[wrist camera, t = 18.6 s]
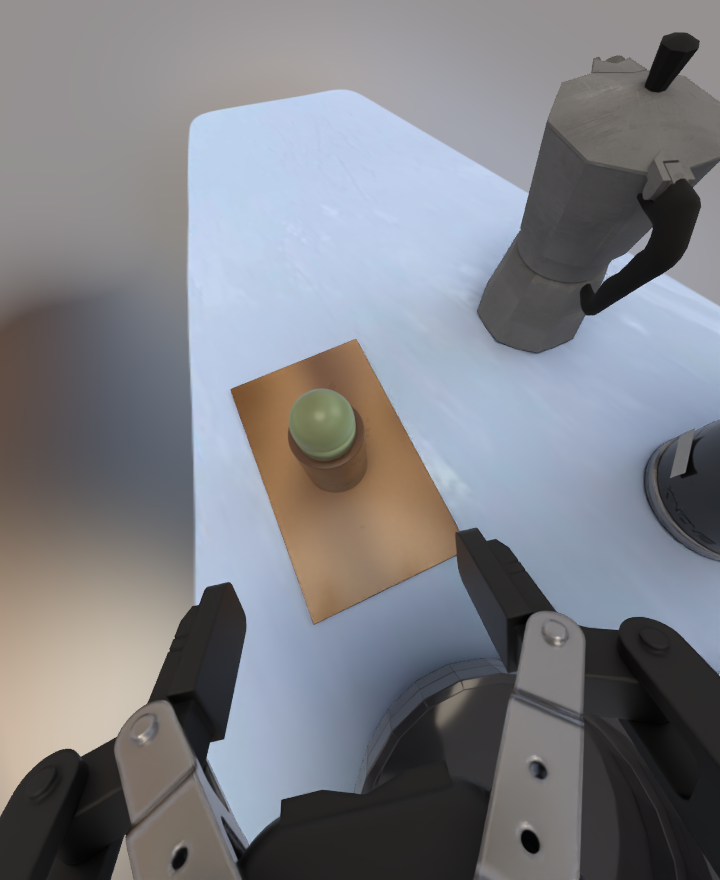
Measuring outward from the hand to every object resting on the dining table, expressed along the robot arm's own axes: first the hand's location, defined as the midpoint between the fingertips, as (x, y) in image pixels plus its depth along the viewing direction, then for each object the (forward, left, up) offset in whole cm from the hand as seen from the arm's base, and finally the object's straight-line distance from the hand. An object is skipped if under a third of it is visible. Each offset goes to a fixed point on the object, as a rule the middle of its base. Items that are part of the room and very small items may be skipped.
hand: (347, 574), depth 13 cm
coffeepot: (-23, -13, -14) cm, 30 cm away
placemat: (-2, -8, -14) cm, 16 cm away
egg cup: (-2, -8, -13) cm, 16 cm away
